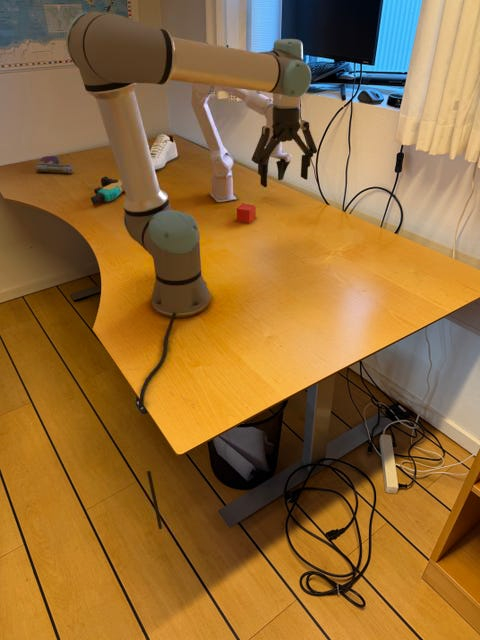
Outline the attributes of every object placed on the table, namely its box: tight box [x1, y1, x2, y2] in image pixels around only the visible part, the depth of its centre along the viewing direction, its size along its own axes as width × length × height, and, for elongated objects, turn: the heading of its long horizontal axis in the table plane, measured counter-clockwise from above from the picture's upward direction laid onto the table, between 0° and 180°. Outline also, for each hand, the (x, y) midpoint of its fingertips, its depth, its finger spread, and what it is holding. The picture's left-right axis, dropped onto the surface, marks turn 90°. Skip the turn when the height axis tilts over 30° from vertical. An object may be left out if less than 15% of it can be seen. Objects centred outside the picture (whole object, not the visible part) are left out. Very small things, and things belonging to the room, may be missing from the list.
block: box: [236, 202, 256, 224], centre depth 166 cm, size 5×5×5 cm
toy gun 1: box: [34, 155, 74, 174], centre depth 213 cm, size 4×19×15 cm
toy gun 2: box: [90, 176, 125, 206], centre depth 186 cm, size 4×26×15 cm
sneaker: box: [149, 133, 179, 171], centre depth 214 cm, size 10×29×12 cm, turn 163°
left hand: (284, 181), depth 142 cm, fingers open, 13 cm apart
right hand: (272, 177), depth 175 cm, fingers open, 7 cm apart
